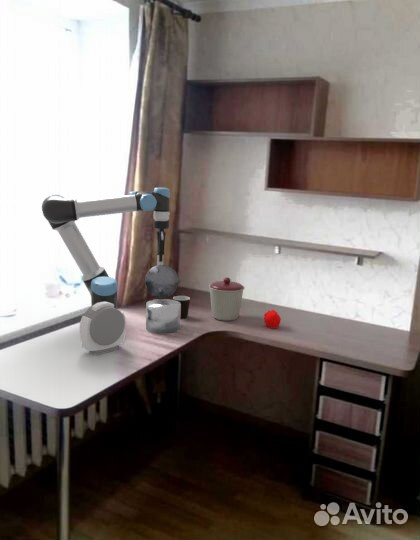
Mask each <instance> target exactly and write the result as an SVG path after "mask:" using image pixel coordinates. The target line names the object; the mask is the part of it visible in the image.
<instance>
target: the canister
mask: <svg viewBox="0 0 420 540" xmlns="http://www.w3.org/2000/svg"><path fill="white" fill-rule="evenodd" d="M208 288H209V294H210V295H209V296H210V306H211V307H210V308H211V315H212V316H213V318H215V319H216V320H219V321H226V322H227V321H235V320H237V318H238V317H239V316H240V315H239V314H240V312H241V311H240V310H241V304H242V300H243V294H244V293H243V292H244V290H245V288H246V287H245V286H244V285H242V284H241V283H240V282H236V281H232V280H231V278H230V277H223V280H219V281H214V282H212V283H210V284H209V285H208Z"/></svg>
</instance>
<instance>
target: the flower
mask: <svg viewBox="0 0 420 540" xmlns="http://www.w3.org/2000/svg"><path fill="white" fill-rule="evenodd" d="M263 320H264V323H265V326H266V328H269V329H278V327H279V326H280V324H281V320H282V319H281V316H280V314H278V312H277V311H276V310H275V309H271V310H268V311H267V312H265V313H264V315H263Z"/></svg>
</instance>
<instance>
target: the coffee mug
mask: <svg viewBox="0 0 420 540" xmlns="http://www.w3.org/2000/svg"><path fill="white" fill-rule="evenodd" d="M172 300H175V301H178V302H180V303H181V316H180V320H186V319H188V315H189V309H190V302H191V298H190V297H189V296H186V295H177V296H173V297H172Z"/></svg>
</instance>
